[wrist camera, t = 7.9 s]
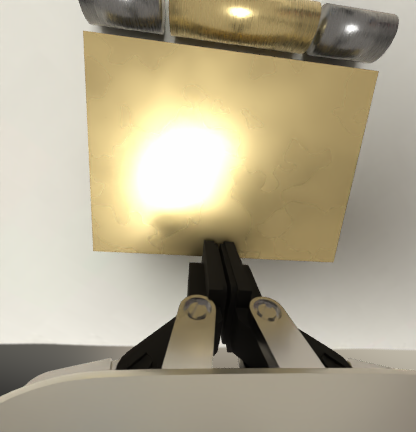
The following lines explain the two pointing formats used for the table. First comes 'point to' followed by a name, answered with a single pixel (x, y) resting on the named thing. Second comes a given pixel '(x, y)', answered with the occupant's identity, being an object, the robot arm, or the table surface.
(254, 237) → the brass leaf
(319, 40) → the metal fittings
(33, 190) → the table surface
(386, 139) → the table surface
